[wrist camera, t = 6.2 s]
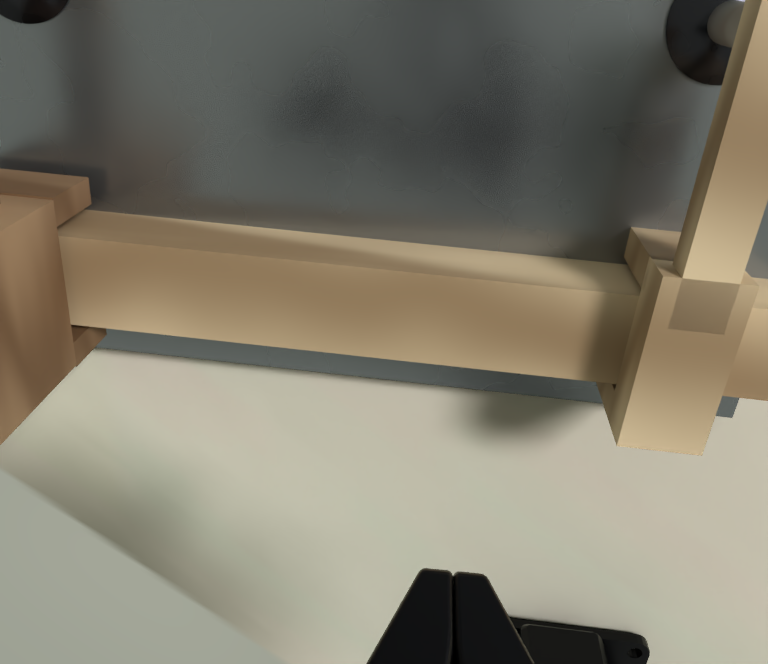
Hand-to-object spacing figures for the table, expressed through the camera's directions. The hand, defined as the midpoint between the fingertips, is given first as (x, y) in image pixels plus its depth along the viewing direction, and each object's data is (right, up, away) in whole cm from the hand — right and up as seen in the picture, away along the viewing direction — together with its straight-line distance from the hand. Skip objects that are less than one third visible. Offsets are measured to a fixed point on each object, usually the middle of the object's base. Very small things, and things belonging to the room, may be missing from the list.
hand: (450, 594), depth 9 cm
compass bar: (-2, +7, +9) cm, 12 cm away
